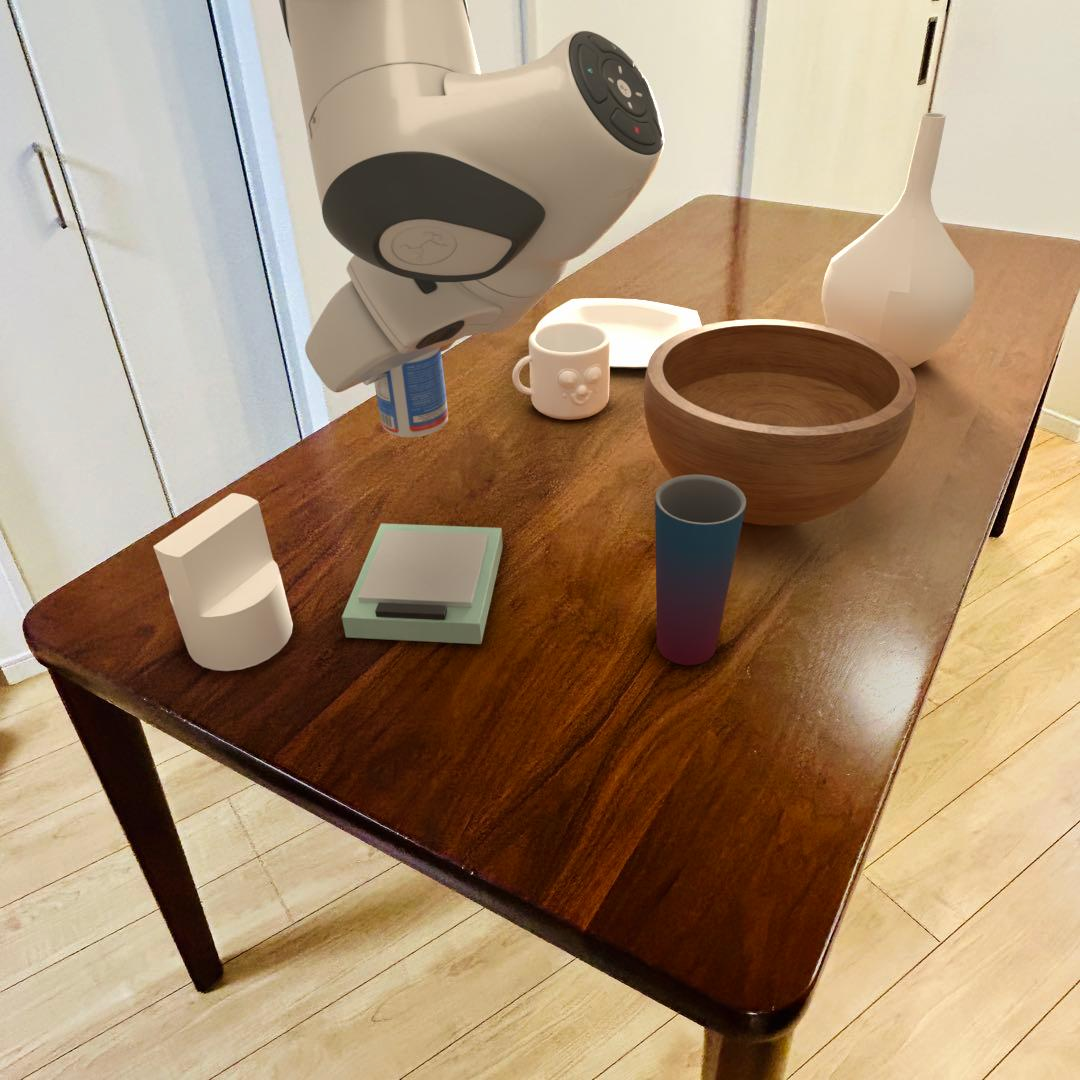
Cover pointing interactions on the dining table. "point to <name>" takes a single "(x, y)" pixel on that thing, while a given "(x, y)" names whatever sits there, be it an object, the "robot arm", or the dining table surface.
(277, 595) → the base with upright slab
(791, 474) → the bowl
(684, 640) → the cup
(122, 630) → the dining table surface
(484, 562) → the scale
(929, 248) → the vase
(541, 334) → the mug
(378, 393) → the pill bottle
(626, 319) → the plate
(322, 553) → the dining table surface
